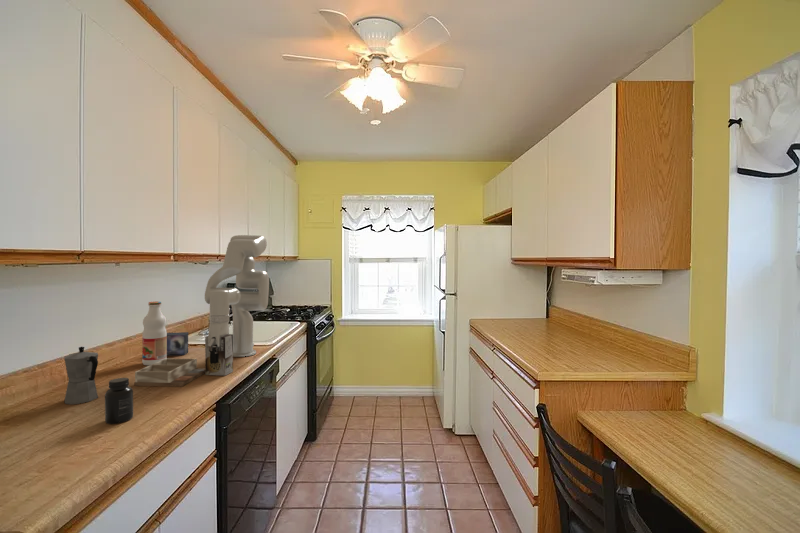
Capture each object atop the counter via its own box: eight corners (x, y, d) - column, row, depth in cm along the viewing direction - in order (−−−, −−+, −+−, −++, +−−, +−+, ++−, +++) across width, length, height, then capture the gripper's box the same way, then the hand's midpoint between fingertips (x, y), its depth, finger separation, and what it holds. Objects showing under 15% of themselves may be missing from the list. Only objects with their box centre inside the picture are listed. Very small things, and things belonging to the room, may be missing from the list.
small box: (160, 356, 187) (160, 335, 187) (165, 353, 194) (165, 332, 194) (184, 355, 190) (184, 334, 189) (188, 352, 196) (188, 332, 196)
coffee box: (233, 371, 165) (233, 334, 164) (225, 376, 158) (225, 337, 158) (213, 370, 166) (213, 333, 165) (204, 375, 159) (204, 336, 159)
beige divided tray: (166, 370, 165) (166, 358, 165) (208, 370, 165) (208, 358, 165) (134, 385, 145) (134, 372, 145) (182, 386, 145) (182, 372, 145)
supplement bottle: (134, 413, 119) (135, 375, 119) (131, 422, 113) (131, 381, 113) (107, 417, 116) (107, 378, 116) (102, 426, 110) (102, 384, 110)
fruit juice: (167, 364, 174) (167, 302, 174) (142, 366, 169) (142, 303, 169) (166, 359, 182) (166, 300, 182) (142, 361, 177) (142, 301, 177)
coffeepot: (54, 400, 129) (53, 347, 128) (86, 392, 137) (86, 342, 137) (79, 409, 122) (79, 352, 122) (112, 399, 131) (112, 346, 130)
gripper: (220, 315, 170) (220, 354, 170) (199, 322, 153) (199, 365, 153) (237, 316, 170) (236, 355, 171) (218, 322, 153) (218, 366, 153)
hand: (219, 360), depth 162 cm, fingers open, 8 cm apart
